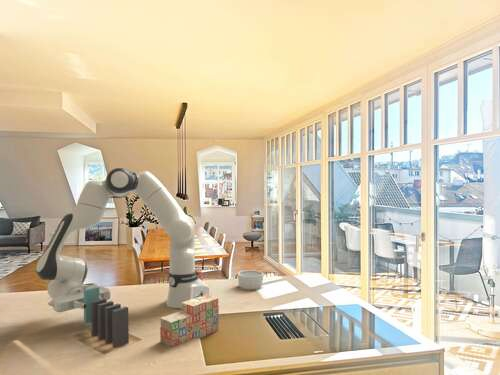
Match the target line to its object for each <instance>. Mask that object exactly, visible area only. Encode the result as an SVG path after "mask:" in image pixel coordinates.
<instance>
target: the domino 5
mask: <svg viewBox="0 0 500 375" xmlns="http://www.w3.org/2000/svg"><path fill="white" fill-rule="evenodd" d="M129 328H130V327H129V307H128V306H123V307H121V308H119V309H115V310H112V344H113V347H114V348H117V347H119V346H122V345H125V344H127V343H129V334H130V332H129V331H130V330H129Z"/></svg>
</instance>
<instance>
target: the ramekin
mask: <svg viewBox="0 0 500 375" xmlns="http://www.w3.org/2000/svg"><path fill="white" fill-rule="evenodd" d="M263 280H264V272H263V271H262V270H261V271H260V270H253V269H248V270H247V269H246V270H240V271H239V272H238V273H237V281H238V286H239V287H240V288H241V289H243V290H249V291H251V290H253V291H254V290H257V289H260V288H261V287H262V285H263Z"/></svg>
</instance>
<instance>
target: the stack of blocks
mask: <svg viewBox="0 0 500 375" xmlns="http://www.w3.org/2000/svg"><path fill="white" fill-rule="evenodd" d="M219 311H220V307H219V298H218V297H215V296H214V297H212V296H209V295H205V296H202V297H201V296H200V297H197V298H195V299H191V300H189V301H185V302H182V308H181V311H177V312H175V313H172V314H169V315H166V316H162V317H160V328H159V331H160V332H159V333H160V334H159V335H160V336H159V337H160V342H161V343H162V344H165V345H166V346H168V347H172V348H173V347H175V346H177V345H179V344H182V343H184V342H187V341H189V340H192V339H194V338H197V339H201V338H204V337H206V336H209V335H212V334H213V333H215V332H218V331H219V314H220V313H219Z"/></svg>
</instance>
